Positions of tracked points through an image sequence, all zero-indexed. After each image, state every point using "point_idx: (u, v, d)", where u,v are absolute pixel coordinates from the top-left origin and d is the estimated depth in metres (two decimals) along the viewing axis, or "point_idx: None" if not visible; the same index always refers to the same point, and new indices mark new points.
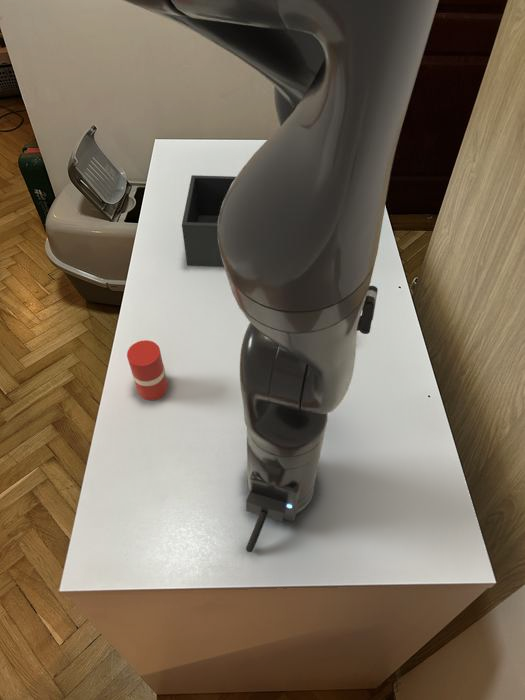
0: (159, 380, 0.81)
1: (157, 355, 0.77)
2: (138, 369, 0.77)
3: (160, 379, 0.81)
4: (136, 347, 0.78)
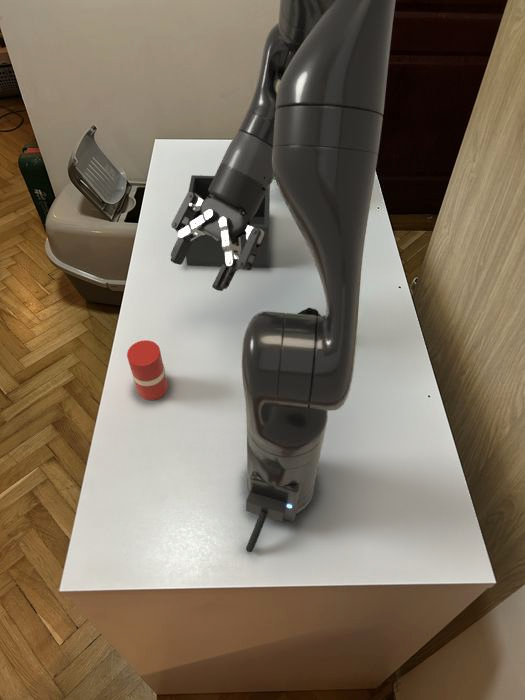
0: (159, 380, 0.81)
1: (157, 355, 0.77)
2: (138, 369, 0.77)
3: (160, 379, 0.81)
4: (136, 347, 0.78)
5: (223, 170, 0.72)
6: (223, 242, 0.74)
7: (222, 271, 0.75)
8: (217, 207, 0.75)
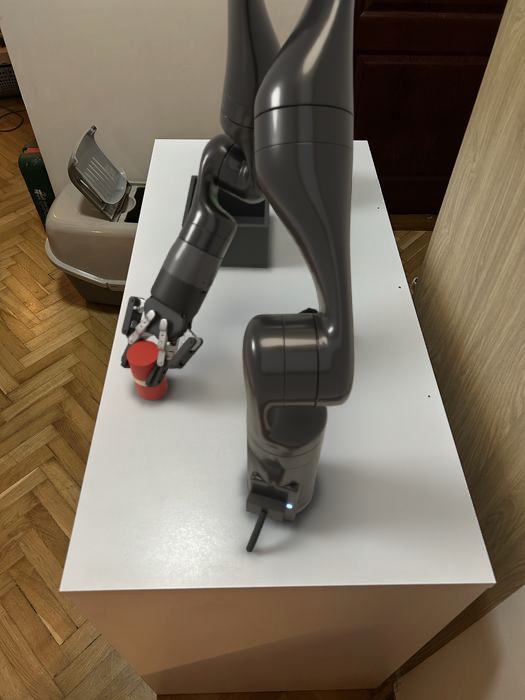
0: None
1: (157, 355, 0.77)
2: (138, 369, 0.77)
3: None
4: (136, 347, 0.78)
5: (163, 275, 0.74)
6: (164, 343, 0.76)
7: (154, 370, 0.77)
8: (160, 307, 0.77)
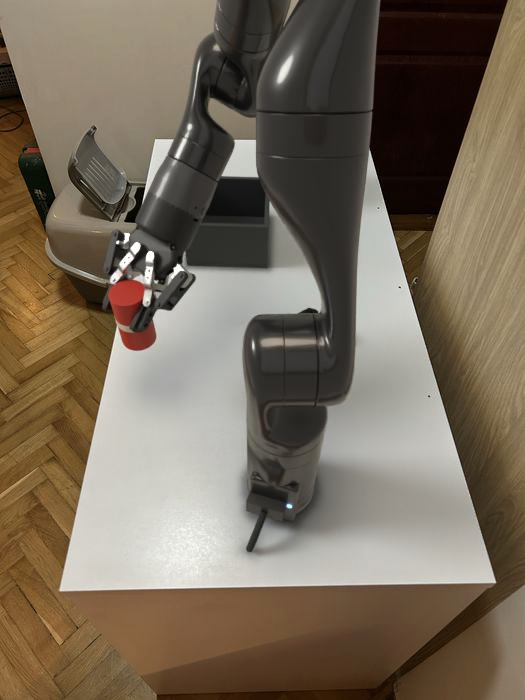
0: None
1: (143, 295, 0.68)
2: (121, 310, 0.67)
3: None
4: (119, 286, 0.69)
5: (149, 200, 0.64)
6: (151, 280, 0.66)
7: (139, 312, 0.67)
8: (146, 240, 0.67)
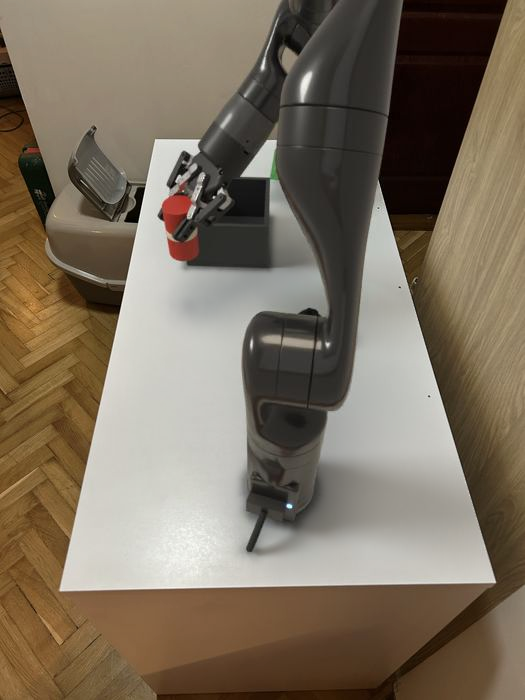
0: (188, 239, 0.81)
1: None
2: (168, 217, 0.78)
3: (189, 239, 0.81)
4: (173, 199, 0.80)
5: (211, 126, 0.74)
6: (197, 196, 0.76)
7: (182, 223, 0.78)
8: (204, 163, 0.77)
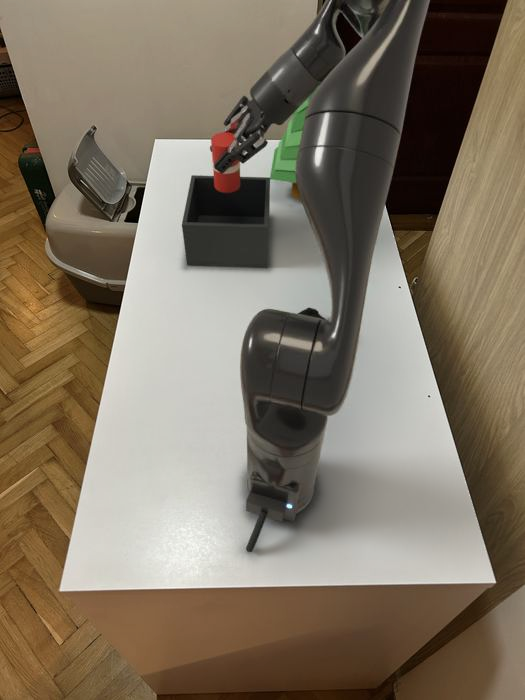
0: (228, 172, 0.93)
1: None
2: (213, 148, 0.90)
3: (229, 172, 0.93)
4: (223, 134, 0.92)
5: (263, 74, 0.84)
6: (239, 133, 0.87)
7: (223, 155, 0.90)
8: (254, 107, 0.88)
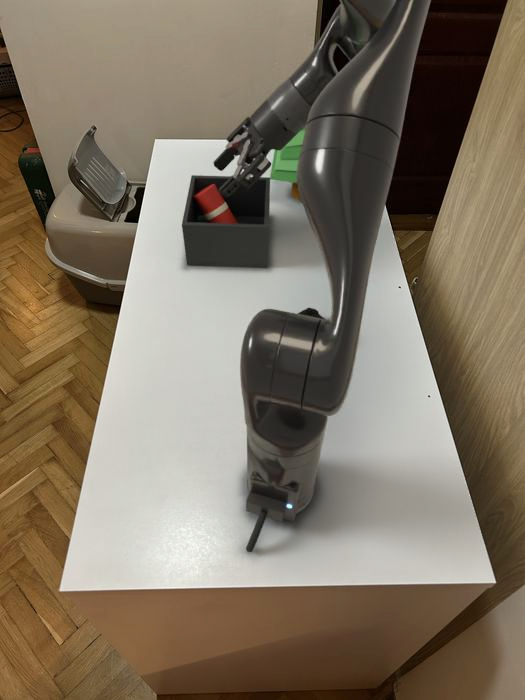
0: (216, 214, 1.02)
1: (207, 189, 1.01)
2: (196, 201, 1.02)
3: (218, 214, 1.02)
4: (204, 189, 1.04)
5: (263, 102, 0.88)
6: (239, 158, 0.91)
7: (229, 180, 0.92)
8: (254, 132, 0.92)
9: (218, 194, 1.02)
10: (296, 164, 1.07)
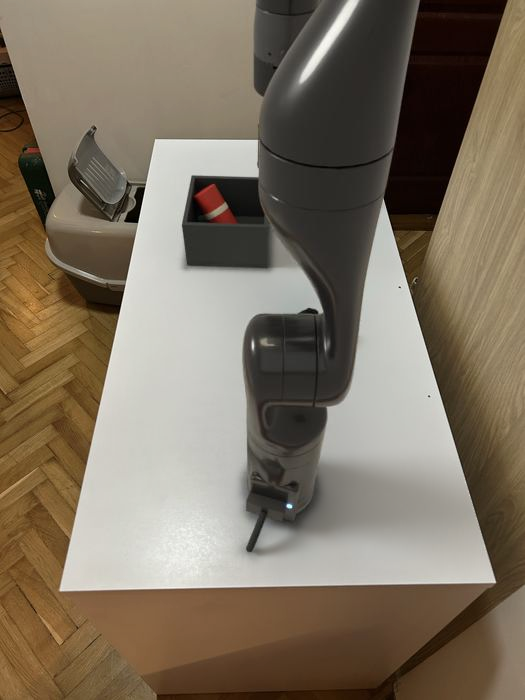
0: (216, 214, 1.02)
1: (207, 189, 1.01)
2: (196, 201, 1.02)
3: (218, 214, 1.02)
4: (204, 189, 1.04)
5: None
6: None
7: None
8: None
9: (218, 194, 1.02)
10: None
